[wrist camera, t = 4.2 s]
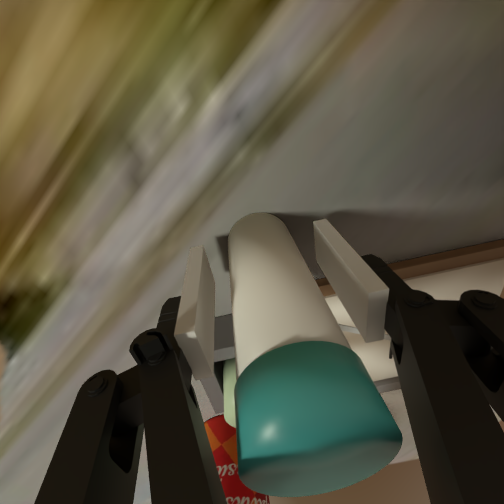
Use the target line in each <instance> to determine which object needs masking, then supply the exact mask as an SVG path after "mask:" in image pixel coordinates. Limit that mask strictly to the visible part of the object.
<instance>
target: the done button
mask: <svg viewBox="0 0 504 504" xmlns="http://www.w3.org/2000/svg"><path fill="white" fill-rule="evenodd" d="M235 384H236V366H235V358H231V359H226V360H224V361H223V388H224V418H225V420H226V422H227V423H228V424H229V425H231V426H233V427H235V428H236V420H235V401H234V388H235Z"/></svg>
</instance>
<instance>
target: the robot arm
mask: <svg viewBox="0 0 504 504" xmlns="http://www.w3.org/2000/svg"><path fill="white" fill-rule="evenodd" d="M313 226H314V240H315V254H316V262H317V263H318V265H319V266H320V268H321V270H322V271H323V273H324V275H325V276H326V278H327V280H328V281H329V283H330V285H331V286H332V288H333V290H334V291H335V293H336V295H337V296H338V298H339V300H340V301H341V303H342V304H343V306H344V308H345V309H346V311H347V313H348V314H349V316H350V318H351V319H352V321H353V323H354V324H355V326H356V328H357V329H358V331H359V333H360V334H361V336H362V338H363V339H364V341H365V342H366V343H370V342H375V341H380V340H384V334H385V330H386V332H387V333H388V335H389V336H390V337H391V342H390V350H389V359H392V355H393V358H394V362H395V366H396V370H397V374H398V378H399V382H400V385H401V389H402V393H403V397H404V401H405V405H406V409H407V413H408V417H409V421H410V424H411V428H412V432H413V436H414V440H415V444H416V448H417V452H418V456H419V460H420V463H421V467H422V471H423V475H424V479H425V483H426V486H427V491H428V494H429V498H430V502H431V504H504V432H503V430H502V428H501V426H500V424H499V422H498V420H497V418H496V416H495V414H494V413H493V411H492V409H491V407H492V408H493V409H494V411H495V412H496V413H497V414H498V416H499V417H500V418H501V419H502V421H503V422H504V299H503V298H501V297H500V296H498V295H496V294H494V293H491V292H488V291H483V290H468V291H465V292H463V293H462V294H461V296H460V300H435V299H434V298H433V297H432V296H431V295H429V294H428V293H426V292H423V291H420V290H414V289H411V288H410V287H409V286H408V285H407V284H406V283H405V282H404V281H403V280H402V279H401V278H400V277H399V276H398V275H397V274H396V273H395V272H394V271H393V270H392V269H391V268H390V267H389V266H387V264H386V263H385V262H384V261H383V260H382V259H381V258H378V257H376V256H374V255H372V254H369V255H365V256H359V255H358V254H357V252H356V251H355V250H354V249H353V248H352V247H351V246H350V245H349V244H348V242H347V241H346V240H345V239H344V238H343V237H342V236H341V235H340V234H339V233H338V231H337V230H336V229H335V228H334V227H333V226H332V225H331V224H330V223H329V221H328V220H327V219H322V220H318V221H313ZM214 321H215V280H214V277H213V274H212V271H211V268H210V265H209V262H208V258H207V255H206V252H205V249H204V246H203V245H202V246H197V247H193V248H190V253H189V258H188V263H187V269H186V274H185V279H184V284H183V290H182V295H181V296H179V297H174V298H169V299H168V300H167V301H166V302H165V304H164V305H163V306H162V309H161V313H160V317H159V320H158V324H157V328H153V329H150V330H146V331H145V332H143V333H141V334H140V335H138V336H137V337H136V338H135V339H134V340H133V342H132V343H131V345H130V349H129V351H130V353H131V355H132V356H133V358H134V359H135V361H136V363H137V364H138V365H136V366H134V367H133V368H131V369H129V370H127V371H125V372H122V373H120V374H118V375H117V374H116V373H115V372H114V371H112V370H103V371H100V372H98V373H96V374H94V375H93V376H91V377H90V378H89V379H88V380H87V381H86V382H85V383H84V384H83V385H82V387H81V388H80V390H79V392H78V394H77V397H76V399H75V402H74V404H73V407H72V409H71V412H70V414H69V417H68V419H67V422H66V425H65V427H64V430H63V432H62V435H61V437H60V440H59V442H58V445H57V447H56V450H55V452H54V455H53V458H52V460H51V463H50V465H49V468H48V470H47V473H46V475H45V478H44V480H43V483H42V485H41V488H40V490H39V493H38V496H37V498H36V501H35V503H34V504H133V500H134V493H135V486H136V480H137V473H138V466H139V459H140V452H141V446H142V439H143V432H144V429H145V439H146V450H147V460H148V471H149V481H150V492H151V502H152V504H227V501H226V497H225V494H224V490H223V487H222V484H221V480H220V477H219V473H218V470H217V466H216V463H215V460H214V456H213V453H212V449H211V446H210V443H209V439H208V436H207V432H206V429H205V426H204V422H203V419H202V415H201V412H200V409H199V405H198V402H197V398H196V395H195V391H194V389H193V387H192V385H191V377H192V374H193V376H194V378H195V380H200V379H204V378H209V377H213V375H214ZM489 404H490V405H491V407H490V405H489Z"/></svg>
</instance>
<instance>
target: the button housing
mask: <svg viewBox="0 0 504 504" xmlns="http://www.w3.org/2000/svg"><path fill="white" fill-rule="evenodd" d="M231 358H235V350H234V335H233V319H232V314H230V315H225V316H221V317H216V318H215V321H214V375H213V377H209V378H204V379H200V381H201V383H202V385H203V387H204V389H205V391H206V394H207V396H208V398H209V400H210V402H211V404H212V406H213V409H214V411H215V413H221V412H224V388H223V360H226V359H231Z"/></svg>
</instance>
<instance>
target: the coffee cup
mask: <svg viewBox="0 0 504 504" xmlns="http://www.w3.org/2000/svg"><path fill="white" fill-rule="evenodd" d="M204 426H205V429H206V432H207V436H208V439H209V443H210V446H211V449H212V453H213V456H214V460H215V463H216V466H217V470H218V473H219V477H220V480H221V484H222V487H223V490H224V494H225V497H226V501H227V504H270V502H269V496H268V495H265V494H261V493H258V492H256V491H253V490H251V489H250V488H248V487H246V486H245V485H244V484H243V483H242V481H241V480H240V478H239V475H238V458H237V439H236V428H235V427H233V426H231V425H229V424H228V423H227V422H226V420H225V418H224V415H219V416H216V417H213V418H211V419H209V420H207V421H206V422H204Z"/></svg>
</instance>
